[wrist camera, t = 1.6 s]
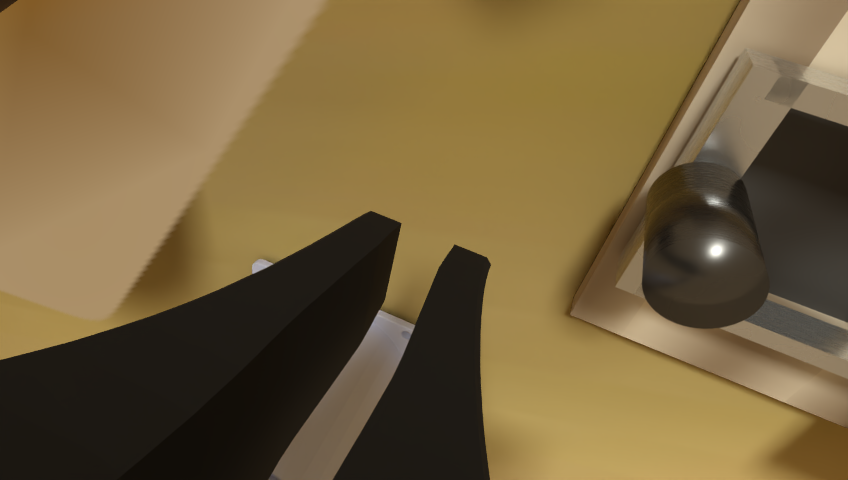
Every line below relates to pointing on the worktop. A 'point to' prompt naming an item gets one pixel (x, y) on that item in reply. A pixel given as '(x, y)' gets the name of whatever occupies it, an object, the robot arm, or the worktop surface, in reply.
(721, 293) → the slider frame
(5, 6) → the plant pot
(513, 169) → the worktop surface
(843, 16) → the tunnel deck
